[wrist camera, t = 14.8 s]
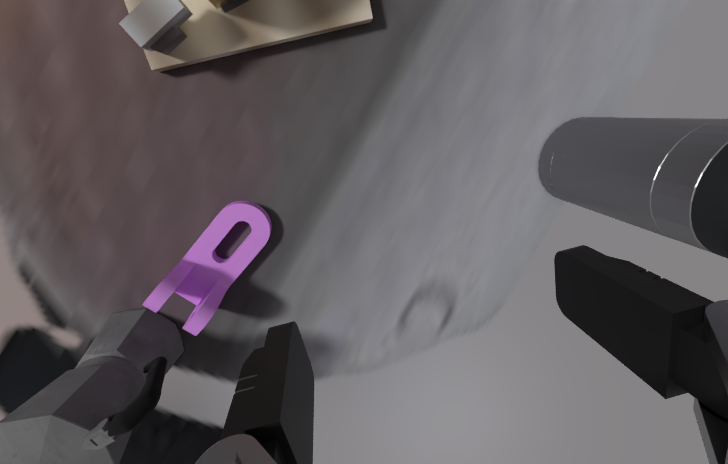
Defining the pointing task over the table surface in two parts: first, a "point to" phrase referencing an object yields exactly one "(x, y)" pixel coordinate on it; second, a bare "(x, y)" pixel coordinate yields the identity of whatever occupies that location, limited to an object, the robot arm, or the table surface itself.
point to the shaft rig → (231, 26)
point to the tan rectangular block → (220, 3)
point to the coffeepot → (96, 396)
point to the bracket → (213, 264)
